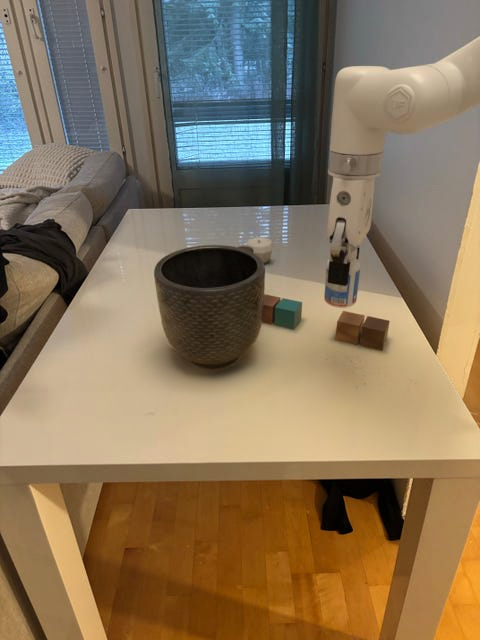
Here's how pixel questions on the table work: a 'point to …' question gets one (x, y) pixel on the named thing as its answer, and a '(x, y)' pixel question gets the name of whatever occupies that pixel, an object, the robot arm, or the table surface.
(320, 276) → the table surface
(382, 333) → the block
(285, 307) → the block
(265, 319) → the block
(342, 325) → the block
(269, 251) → the white pillar candle
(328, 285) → the pill bottle
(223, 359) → the planter
